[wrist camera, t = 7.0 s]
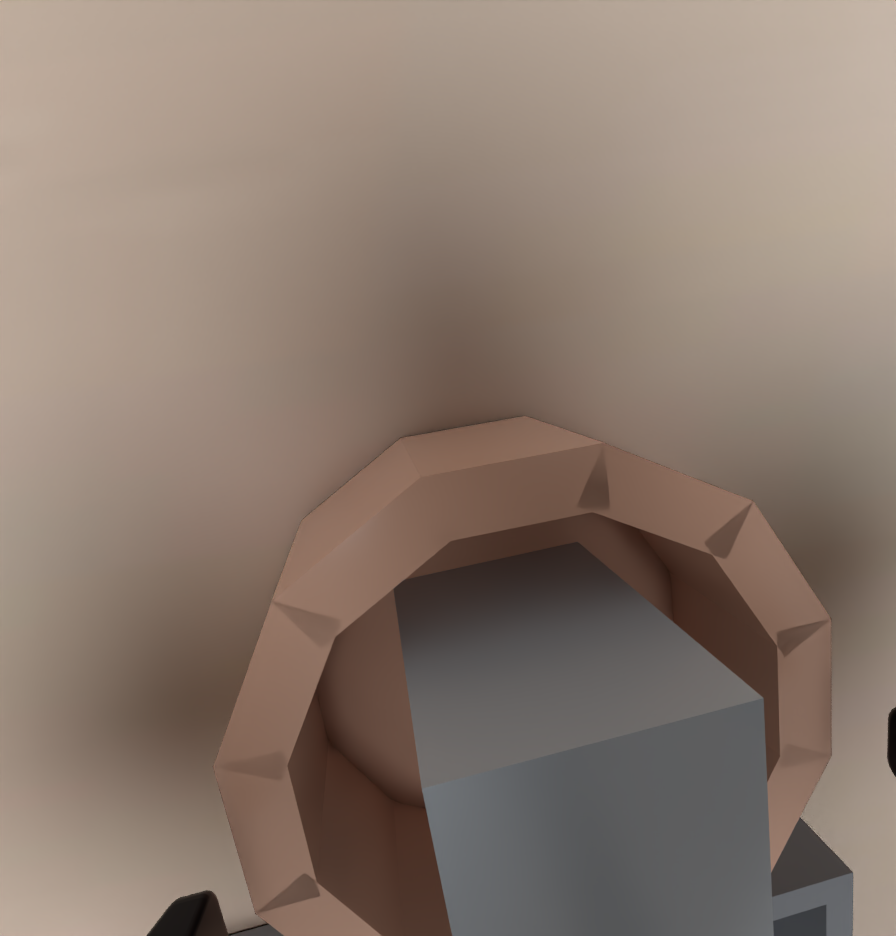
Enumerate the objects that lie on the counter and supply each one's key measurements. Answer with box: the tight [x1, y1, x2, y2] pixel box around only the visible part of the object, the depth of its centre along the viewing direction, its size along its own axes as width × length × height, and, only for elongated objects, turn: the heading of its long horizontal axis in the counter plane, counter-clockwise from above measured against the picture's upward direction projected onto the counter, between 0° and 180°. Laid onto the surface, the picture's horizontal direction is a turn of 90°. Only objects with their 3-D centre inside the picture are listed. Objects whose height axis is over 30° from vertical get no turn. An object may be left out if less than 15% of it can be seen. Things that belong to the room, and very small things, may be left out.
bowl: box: [213, 416, 832, 936], centre depth 10 cm, size 9×9×4 cm
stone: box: [393, 542, 774, 936], centre depth 8 cm, size 4×4×5 cm
